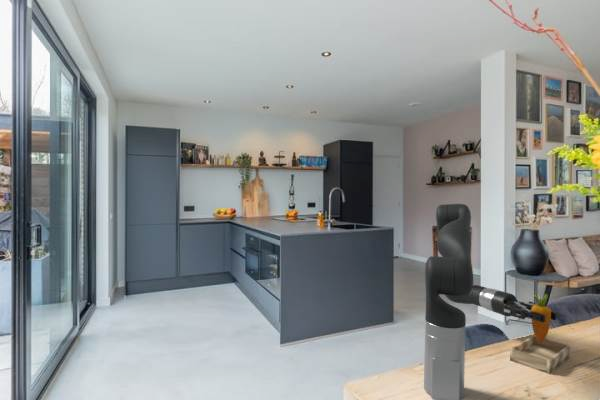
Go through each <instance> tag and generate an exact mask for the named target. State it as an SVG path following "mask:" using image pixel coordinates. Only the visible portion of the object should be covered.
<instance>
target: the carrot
mask: <svg viewBox="0 0 600 400" xmlns="http://www.w3.org/2000/svg"><path fill="white" fill-rule="evenodd" d="M543 295H544V296H543V297H542V298H540V299H539V297H538V296H537V294H534V295H533V298H534V299H535V302H537V303H536V304H538V305H534V306H532V311H534V312H537V313H540V314H543V315H545V316H546V321H545V322H540V321H537V320H534V319H531V325H532V331H533V333H534V336H536V338H537V340H538V342H539V343H541V342H543V340H544V339H547V338H546V337H547V336H548V333H549V330H550V327H551V320H552V319H551V311H552V309H551V308H550V307H548V306H547V305H546V304H545V303H546V302H547V300H548V297H549V296H548V294H547V293H544V294H543ZM532 311H531V312H532Z"/></svg>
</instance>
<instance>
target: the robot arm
mask: <svg viewBox="0 0 600 400" xmlns="http://www.w3.org/2000/svg"><path fill="white" fill-rule="evenodd" d="M435 219H436V226H437V230H438V233H437V238H436V249H437V252H438V253H439V254H440V256H437V255H436V256H435V255H434V256H433V255H432V256H429V257H428V258H427V259H426V262H425V268H424V273H425V275H424V280H425V281H424V282H425V317H424V318H425V323H424V355H423V356H424V357H423V358H424V362H423V363H424V364H423V368H424V369H423V389H424V391H426V393H427V394H429V395H430V398H431V399H435V400H462V399H463V398H464V397H465V366H466V365H465V362H466V358H465V357H466V321H467V317H466V314H465V312H464V311H463V310H462V309H460V308H458V307H456V306H453V305H452V304H450V303H448V302H446V301H445V300H444V299H443V298H442V297H441V296H440V295H444V296H445V297H446V298H447V299H448V300H449V301H451V302H453V303H458V304H463V305H464V304H466V305H475V306H477V307H481V308H483V309H486V310H487V311H490V312H493V313H496V314H499V315H502V316H505V317H514V318H518V319H521V320H525V319H527V320H532V319H534V320H537V321H540V322H545V321H546V316H545V315H543V314H540V313H537V312H534V311H532V306H534V305H538V303H536V302H533V301H528V302H525V301H522V300H518V299H517V297H516V296H515V295H514V294H513V293H510V292H505V291H502V290H499V289H495V288H488V287H485V286H482V285H477V284H474V270H473V264H472V258H471V251H472V249H471V248H472V247H471V246H472V241H471V239H472V238H471V231H470V229H471V220H472V215H471V210H470V208H469V206H468V205H467V204H464V203H452V204H450V203H449V204H448V203H447V204H440V205H438V206H437V207H436V212H435ZM551 320H552V321H555V320H558V313H557V312H555V311H552V310H551Z"/></svg>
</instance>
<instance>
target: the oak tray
mask: <svg viewBox="0 0 600 400" xmlns="http://www.w3.org/2000/svg"><path fill="white" fill-rule="evenodd" d="M509 352H510V353H509V360H510V361H511V362H514V363H516V364H520V365H523V366H526V367H528V368H531V369H535V370H537V371H540V372H543V373H546V374H548V375H550V374H551V373H552V372H553V371H554V370H556V369H557V368H559V366H561V365H563V363H564V362H566V361H567V360H569V359H570V358H571V345H569V344H564V343H561V342H558V341H554V340H550V339H547V338H545V339H544V340H543V342H541V343H539V342H538V340H537V338H536V336H535V335H531V336H530V337H528V338H527V339H525V340H523V341H522V342H520V343H518V344H515V345H514V346H512V347H511V348H510V349H509Z"/></svg>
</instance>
